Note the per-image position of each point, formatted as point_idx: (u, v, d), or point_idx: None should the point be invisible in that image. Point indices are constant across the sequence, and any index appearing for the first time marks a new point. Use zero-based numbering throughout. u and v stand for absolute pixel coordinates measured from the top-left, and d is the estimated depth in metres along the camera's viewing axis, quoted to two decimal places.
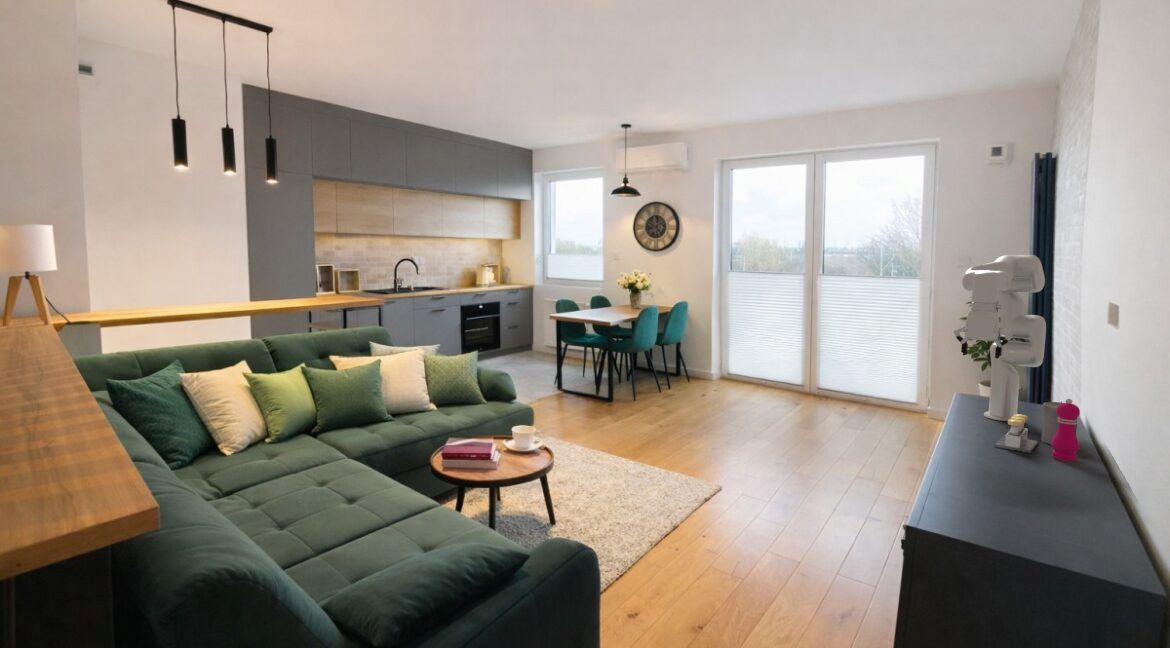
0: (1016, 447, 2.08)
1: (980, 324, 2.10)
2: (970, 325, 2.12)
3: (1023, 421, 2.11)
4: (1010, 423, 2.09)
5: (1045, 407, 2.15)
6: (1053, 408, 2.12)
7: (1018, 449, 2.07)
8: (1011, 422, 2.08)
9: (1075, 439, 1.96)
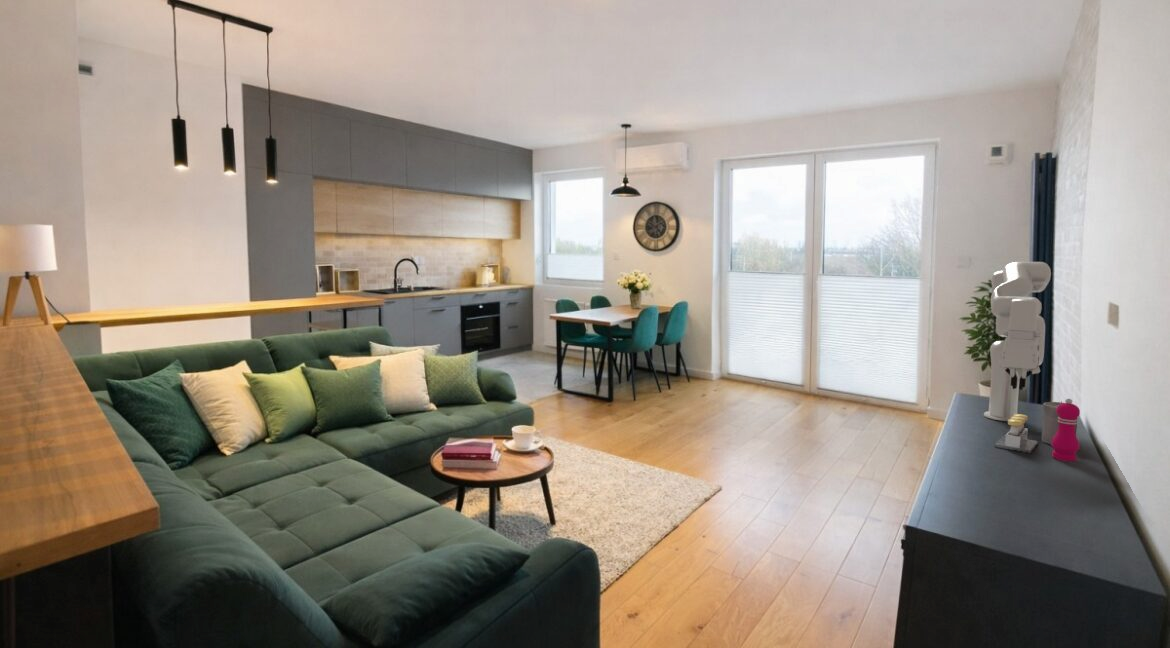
0: (1016, 447, 2.08)
1: (1017, 352, 2.05)
2: (1007, 353, 2.07)
3: (1023, 421, 2.11)
4: (1010, 423, 2.09)
5: (1045, 407, 2.15)
6: (1053, 408, 2.12)
7: (1018, 449, 2.07)
8: (1011, 422, 2.08)
9: (1075, 439, 1.96)
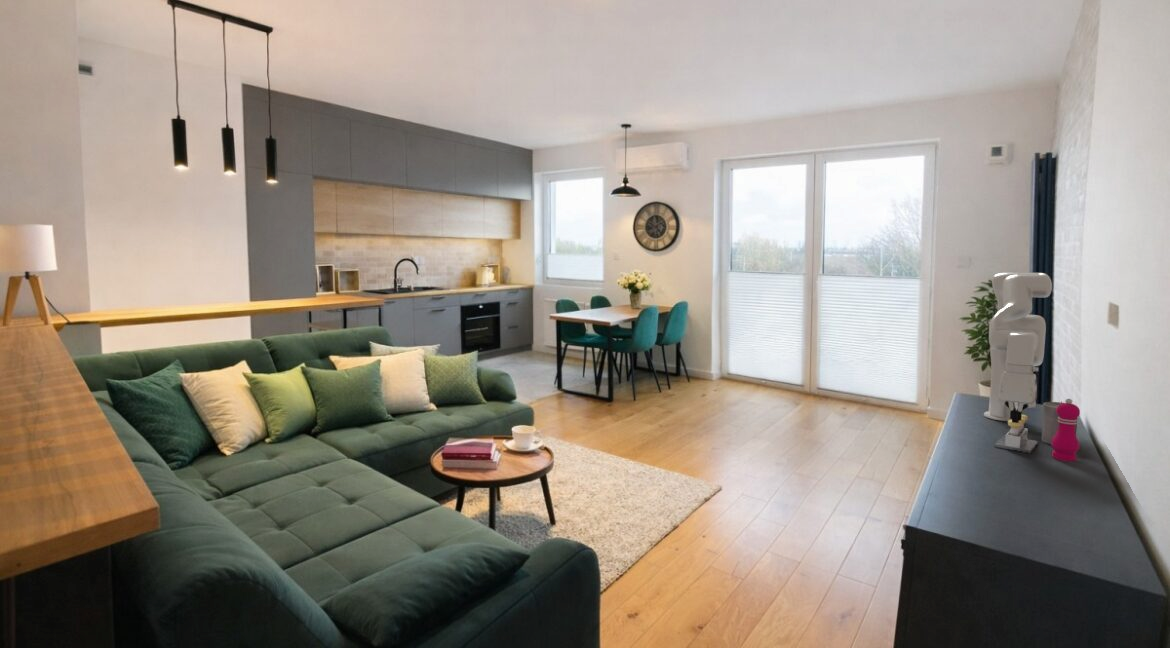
0: (1016, 447, 2.08)
1: (1015, 386, 2.06)
2: (1005, 386, 2.08)
3: (1023, 421, 2.11)
4: (1010, 424, 2.09)
5: (1045, 407, 2.15)
6: (1053, 408, 2.12)
7: (1018, 449, 2.07)
8: (1011, 423, 2.08)
9: (1075, 439, 1.96)
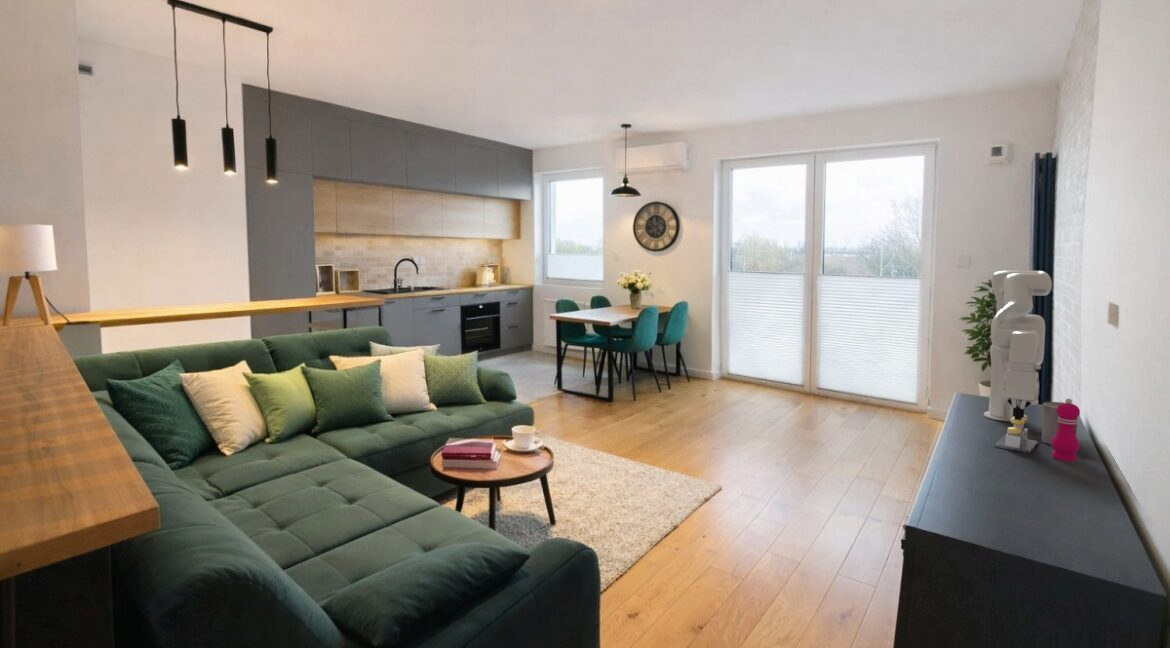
0: (1016, 447, 2.08)
1: (1017, 383, 2.09)
2: (1007, 384, 2.12)
3: (1023, 422, 2.11)
4: (1009, 431, 2.09)
5: (1045, 407, 2.15)
6: (1053, 408, 2.12)
7: (1018, 449, 2.07)
8: (1010, 430, 2.09)
9: (1075, 439, 1.96)
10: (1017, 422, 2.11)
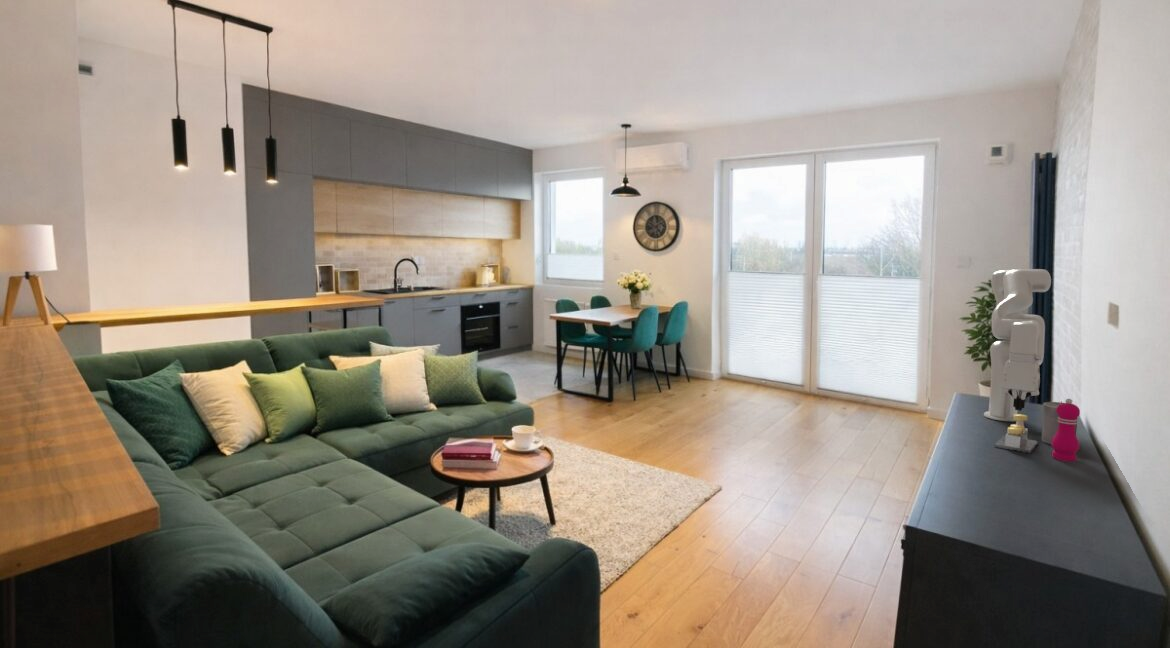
0: (1016, 447, 2.08)
1: (1018, 374, 2.09)
2: (1008, 375, 2.12)
3: (1022, 429, 2.11)
4: (1009, 431, 2.09)
5: (1045, 407, 2.15)
6: (1053, 408, 2.12)
7: (1018, 449, 2.07)
8: (1010, 430, 2.09)
9: (1075, 439, 1.96)
10: None
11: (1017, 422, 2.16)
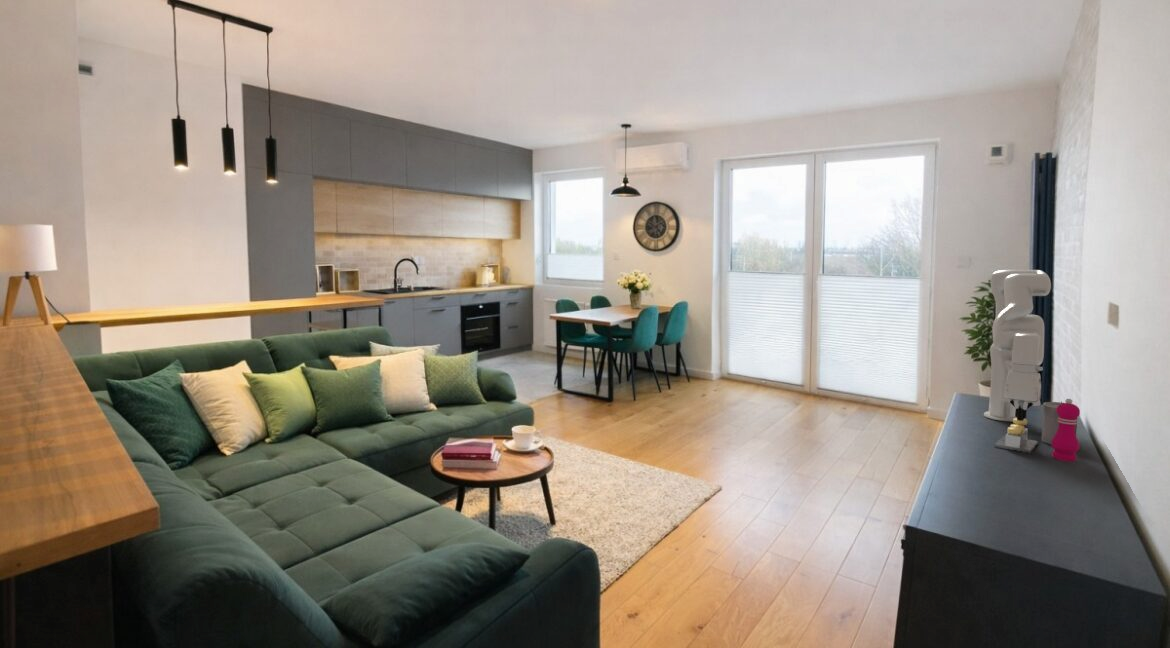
0: (1016, 447, 2.08)
1: (1020, 385, 2.13)
2: (1010, 385, 2.15)
3: (1022, 429, 2.11)
4: (1009, 431, 2.09)
5: (1045, 407, 2.15)
6: (1053, 408, 2.12)
7: (1018, 449, 2.07)
8: (1010, 430, 2.09)
9: (1075, 439, 1.96)
10: None
11: None
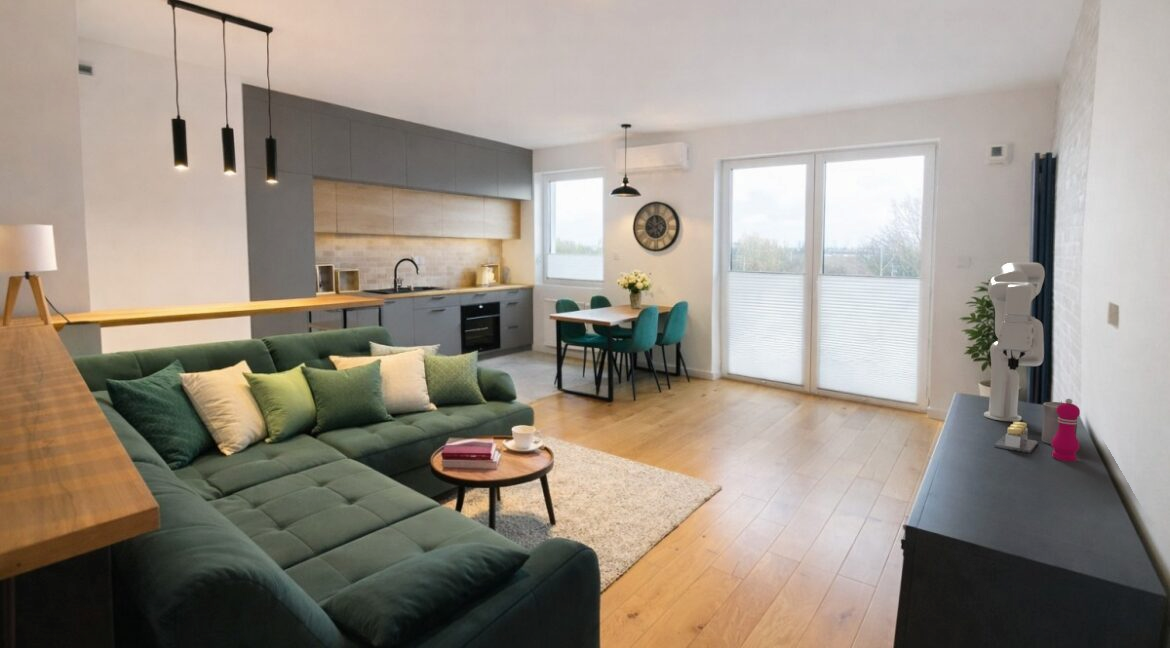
0: (1016, 447, 2.08)
1: (1013, 335, 2.17)
2: (1003, 336, 2.19)
3: (1022, 429, 2.11)
4: (1009, 431, 2.09)
5: (1045, 407, 2.15)
6: (1053, 408, 2.12)
7: (1018, 449, 2.07)
8: (1010, 430, 2.09)
9: (1075, 439, 1.96)
10: None
11: None
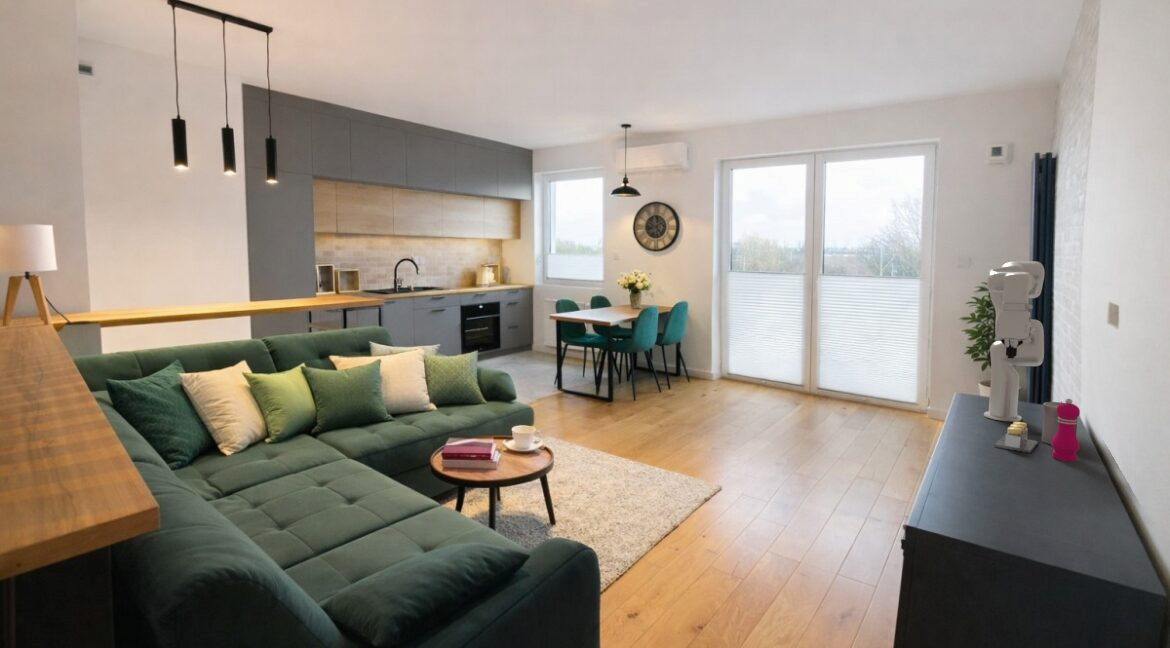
0: (1016, 447, 2.08)
1: (1010, 323, 2.18)
2: (1001, 324, 2.20)
3: (1022, 429, 2.11)
4: (1009, 431, 2.09)
5: (1045, 407, 2.15)
6: (1053, 408, 2.12)
7: (1018, 449, 2.07)
8: (1010, 430, 2.09)
9: (1075, 439, 1.96)
10: None
11: None
